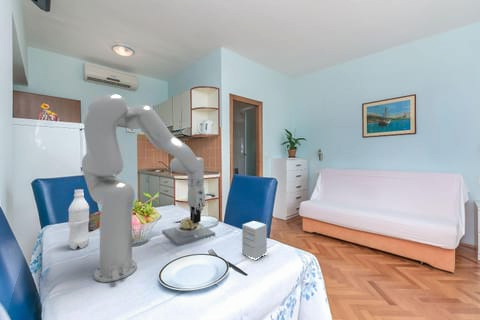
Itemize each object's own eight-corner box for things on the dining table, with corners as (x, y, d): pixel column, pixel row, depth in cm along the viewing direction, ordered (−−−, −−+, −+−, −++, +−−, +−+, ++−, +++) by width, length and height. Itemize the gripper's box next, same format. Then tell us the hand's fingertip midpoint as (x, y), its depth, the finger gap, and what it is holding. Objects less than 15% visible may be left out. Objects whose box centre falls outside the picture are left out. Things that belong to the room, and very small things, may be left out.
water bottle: (67, 247, 89) (67, 189, 89) (87, 242, 95) (87, 188, 94) (70, 252, 85) (69, 191, 84) (91, 246, 90) (91, 189, 89)
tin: (90, 232, 107) (90, 216, 107) (84, 232, 107) (84, 216, 107) (108, 223, 122) (108, 209, 122) (103, 223, 122) (103, 209, 122)
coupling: (203, 234, 100) (203, 209, 100) (190, 238, 96) (190, 211, 95) (190, 226, 111) (190, 204, 111) (178, 229, 107) (178, 205, 107)
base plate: (215, 235, 103) (215, 228, 103) (176, 246, 91) (176, 238, 91) (197, 225, 119) (197, 219, 119) (162, 232, 107) (162, 226, 107)
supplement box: (253, 249, 89) (253, 220, 89) (267, 255, 84) (267, 224, 83) (241, 254, 84) (241, 224, 83) (255, 261, 78) (255, 228, 78)
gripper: (211, 184, 94) (210, 224, 95) (195, 180, 107) (195, 215, 107) (196, 185, 90) (196, 227, 90) (181, 181, 103) (181, 218, 103)
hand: (195, 220), depth 99 cm, fingers closed on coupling, 3 cm apart
